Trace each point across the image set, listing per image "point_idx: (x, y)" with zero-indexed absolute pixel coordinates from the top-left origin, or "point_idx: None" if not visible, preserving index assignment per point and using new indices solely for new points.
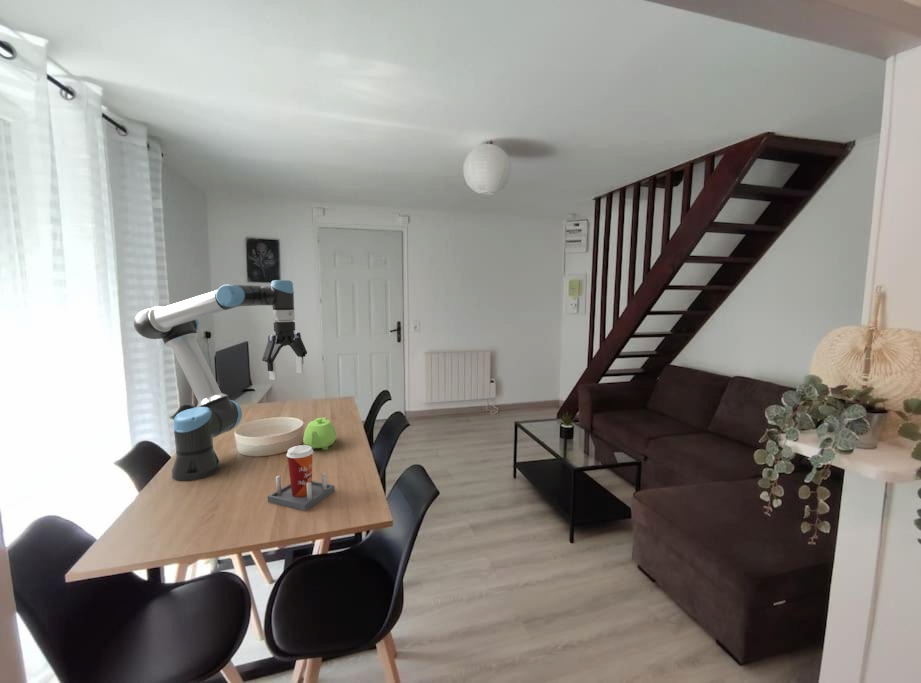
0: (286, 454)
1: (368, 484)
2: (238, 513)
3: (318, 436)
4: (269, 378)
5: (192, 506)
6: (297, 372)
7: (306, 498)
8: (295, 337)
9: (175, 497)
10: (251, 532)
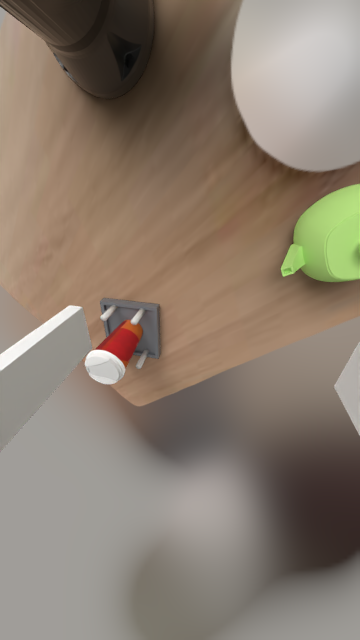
0: (90, 352)
1: (190, 379)
2: (70, 283)
3: (301, 266)
4: (66, 309)
5: (40, 204)
6: (356, 354)
7: None
8: None
9: (30, 136)
10: None
